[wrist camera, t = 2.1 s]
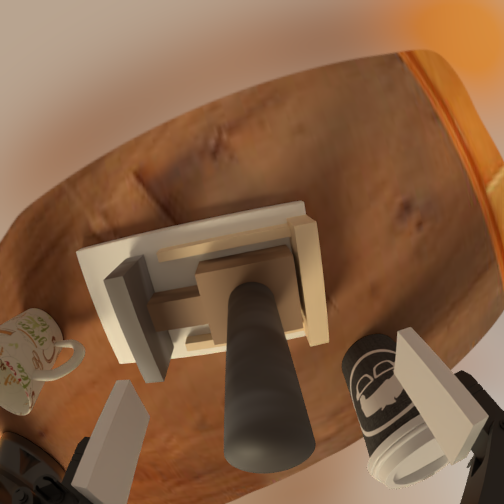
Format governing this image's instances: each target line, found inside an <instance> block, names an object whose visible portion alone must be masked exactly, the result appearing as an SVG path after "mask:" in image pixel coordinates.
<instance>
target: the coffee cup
mask: <svg viewBox="0 0 504 504" xmlns="http://www.w3.org/2000/svg"><path fill="white" fill-rule="evenodd" d="M396 346H397V344H396V343H395V342H394V341H393V340H392V339H391V338H390V337H388V336H386V335H383V334H373V335H369V336H366V337H364V338H362V339H360V340H359V341H357V342H356V343H355V344H353V345H352V346H351V347H350V348H349V350H348V351H347V352H346V354H345V356H344V358H343V361H342V371H343V374H344V377H345V380H346V383H347V386H348V389H349V392H350V395H351V398H352V401H353V404H354V407H355V410H356V413H357V417H358V420H359V423H360V426H361V429H362V433H363V436H364V439H365V442H366V446H367V449H368V453H369V456H370V459H369V461H368V464H367V470H368V472H369V473H370V474H371V476H372V477H373V478H375V479H376V480H377V481H379V482H382V483H384V484H385V486H387V487H388V488H391V489H400V488H404V487H408V486H411V485H414V484H416V483H419V482H421V481H423V480H425V479H427V478H429V477H430V476H432V475H434V474H435V473H437V472H439V471H440V470H441V469H443V468H444V467H445V466H446V465H448V464H449V463H450V462H449V460H448V458H447V457H446V455H445V453H444V452H443V450H442V448H441V447H440V445H439V443H438V442H437V440H436V439H435V437H434V435H433V434H432V432H431V430H430V429H429V427H428V426H427V424H426V422H425V421H424V419H423V418H422V416H421V414H420V413H419V411H418V410H417V408H416V407H415V405H414V403H413V402H412V400H411V399H410V397H409V396H408V394H407V393H406V391H405V390H404V388H403V386H402V385H401V383H400V382H399V380H398V379H397V377H396V376H395V374H394V366H395V357H396Z"/></svg>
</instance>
